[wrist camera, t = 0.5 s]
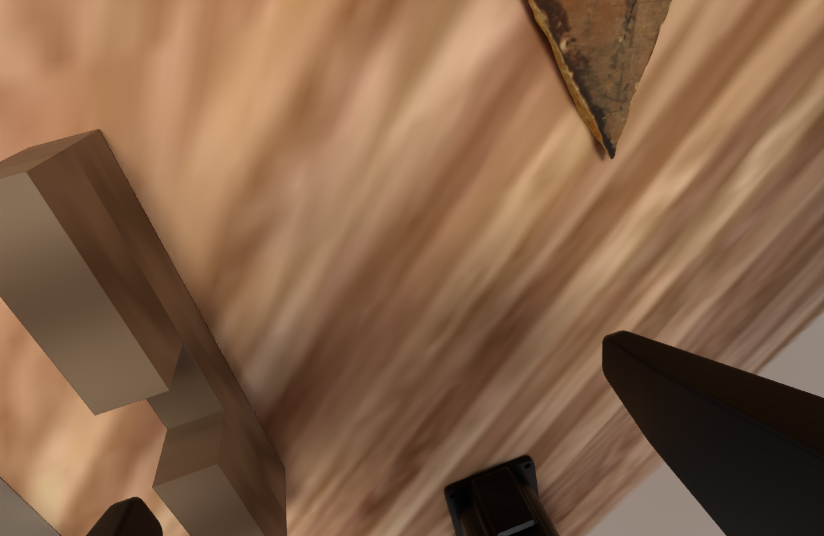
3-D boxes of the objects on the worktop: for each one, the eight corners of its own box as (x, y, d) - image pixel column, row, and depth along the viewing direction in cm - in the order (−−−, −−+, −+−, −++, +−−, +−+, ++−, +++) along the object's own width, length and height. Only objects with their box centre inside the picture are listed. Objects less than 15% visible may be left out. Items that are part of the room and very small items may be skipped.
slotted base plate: (284, 468, 27) (288, 571, 22) (242, 484, 27) (235, 592, 22) (99, 129, 17) (25, 171, 12) (28, 147, 17) (-77, 199, 12)
